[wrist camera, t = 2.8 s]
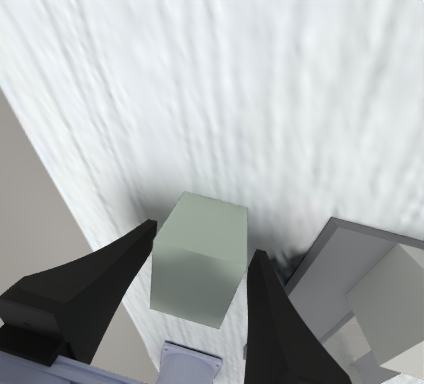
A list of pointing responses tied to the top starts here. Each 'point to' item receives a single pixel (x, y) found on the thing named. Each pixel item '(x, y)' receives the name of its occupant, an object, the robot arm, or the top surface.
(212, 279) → the block
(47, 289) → the robot arm
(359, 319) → the mounted modules
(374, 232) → the rail board
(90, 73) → the top surface
